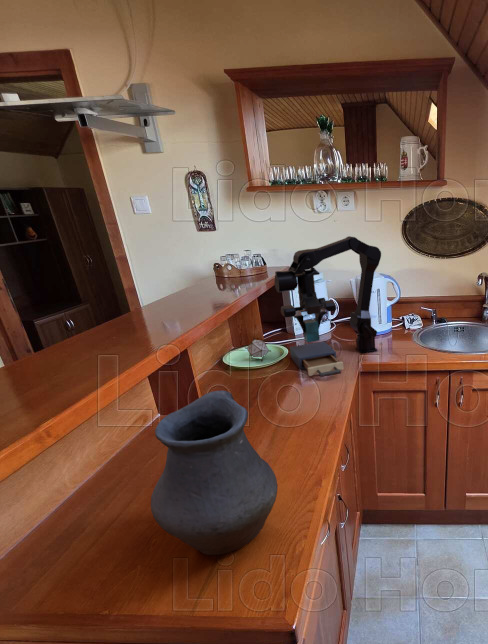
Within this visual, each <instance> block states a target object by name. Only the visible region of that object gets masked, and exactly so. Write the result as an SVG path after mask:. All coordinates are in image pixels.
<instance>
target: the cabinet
mask: <svg viewBox="0 0 488 644" xmlns="http://www.w3.org/2000/svg"><path fill="white" fill-rule="evenodd" d="M289 349H290V358H291V359H292V361H293V362H294V363H295V365H296V366H297V367H298V368H299V370H307V369H306V368H305V367H304V366H303V364H302V360H303V359H309V358H315V357H320V356H326V355H333V356H334V357H335V358H336V359H337V352H336V351H335V349H333V348H332V347H331V346H330V345H329V344H328V343H327V342H325V341H317V342H311V343H306V344H301V345H294V346H290V347H289Z"/></svg>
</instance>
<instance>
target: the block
mask: <svg viewBox="0 0 488 644" xmlns="http://www.w3.org/2000/svg"><path fill="white" fill-rule="evenodd" d="M303 321H304V325H305V333H304V332H303V339H304V340H305V341H306V342H307V343H314V342H320V331H319V330H320V327H319V328H318V322H317V321H316V320H315V318H311V319H303Z"/></svg>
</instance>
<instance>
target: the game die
mask: <svg viewBox="0 0 488 644" xmlns="http://www.w3.org/2000/svg"><path fill="white" fill-rule="evenodd" d="M265 341H266V339H265V338H264V339H262V340H260V339H256V338H255V337H253V340H252V341H251V342H250V343H249V345H247V347H244V349H245V350H247V352H248V353H249V357H251V356H253V357H262V356H264V355H265V356H267V354H268V353H269V352H272V350H271V349H269V348H268V346H267V343H266V342H265ZM259 360H260V361H261V362H263V361H264V360H263V359H259Z"/></svg>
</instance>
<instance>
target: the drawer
mask: <svg viewBox="0 0 488 644" xmlns="http://www.w3.org/2000/svg"><path fill="white" fill-rule="evenodd" d="M302 364H303V366H304V367H305V368H306V369H305V370H307V376H308V377H311V376H316V375H319V377H320V378H324V377H331V376H335V375H339V374H342V371H341V370H345V368H344V361H339V359H338V358H337V357H336V358H335V357H334V356H333V355H326V356H320V357H315V358H309V359H303V360H302Z"/></svg>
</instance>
